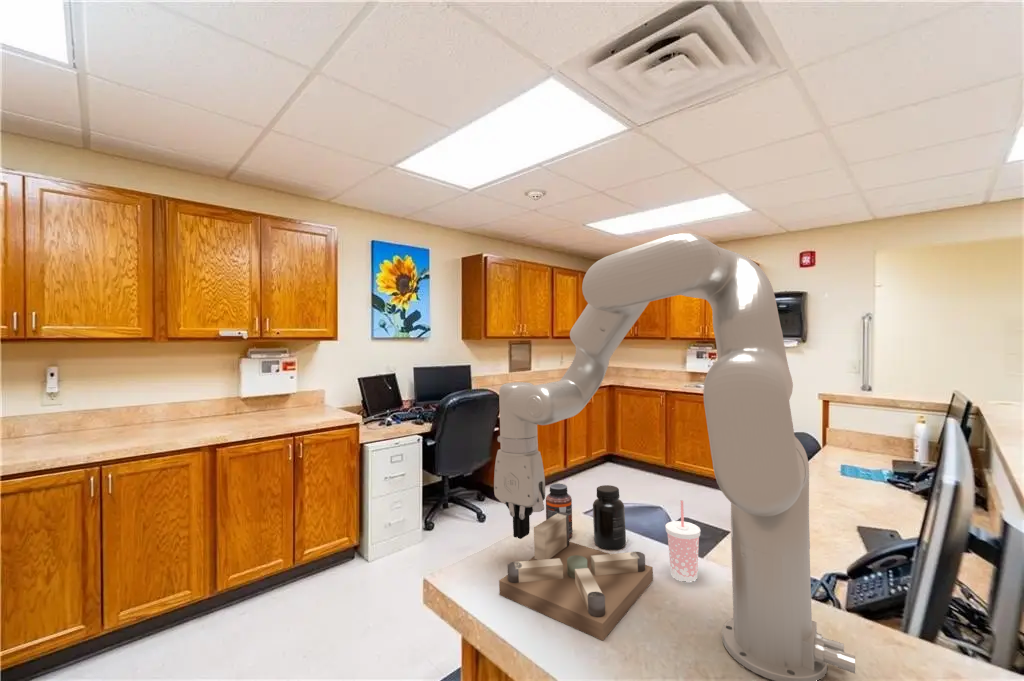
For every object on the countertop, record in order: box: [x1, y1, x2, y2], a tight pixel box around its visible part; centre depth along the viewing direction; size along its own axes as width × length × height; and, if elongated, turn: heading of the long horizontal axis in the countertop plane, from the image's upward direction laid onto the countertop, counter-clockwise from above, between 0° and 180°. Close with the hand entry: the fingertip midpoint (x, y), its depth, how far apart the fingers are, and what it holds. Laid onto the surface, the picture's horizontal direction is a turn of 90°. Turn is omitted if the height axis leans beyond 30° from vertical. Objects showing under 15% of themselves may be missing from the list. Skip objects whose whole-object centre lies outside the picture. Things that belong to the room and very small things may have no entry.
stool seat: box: [498, 541, 654, 641], centre depth 78 cm, size 20×20×5 cm
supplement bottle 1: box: [545, 483, 573, 539], centre depth 99 cm, size 6×6×11 cm
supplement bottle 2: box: [592, 484, 627, 551], centre depth 95 cm, size 7×7×12 cm
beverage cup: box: [664, 499, 702, 583], centre depth 81 cm, size 6×6×14 cm
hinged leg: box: [533, 512, 570, 560], centre depth 87 cm, size 10×3×6 cm, turn 141°
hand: (521, 535), depth 87 cm, fingers closed
